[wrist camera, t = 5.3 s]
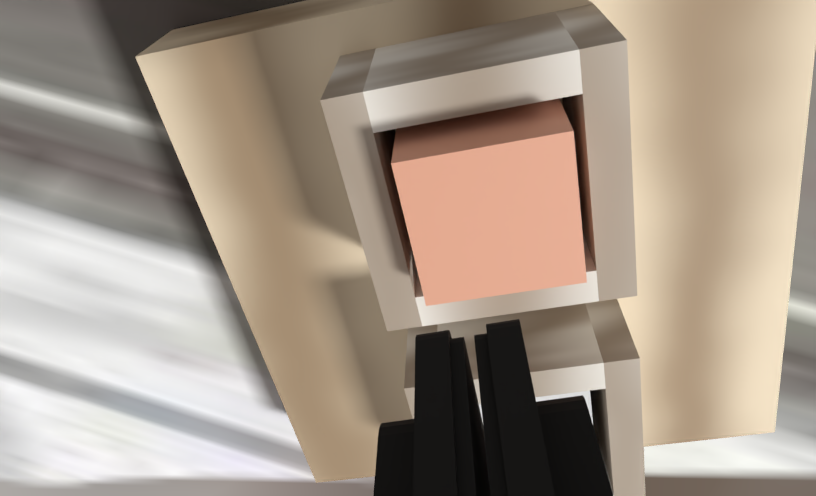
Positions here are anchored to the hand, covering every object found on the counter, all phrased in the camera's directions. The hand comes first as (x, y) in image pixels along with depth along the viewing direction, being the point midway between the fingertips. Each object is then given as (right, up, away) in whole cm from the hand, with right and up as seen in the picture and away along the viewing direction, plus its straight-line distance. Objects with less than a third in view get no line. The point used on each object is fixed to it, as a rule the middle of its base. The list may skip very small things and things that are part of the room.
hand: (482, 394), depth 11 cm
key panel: (+2, +3, +13) cm, 14 cm away
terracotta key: (+1, +5, +7) cm, 9 cm away
